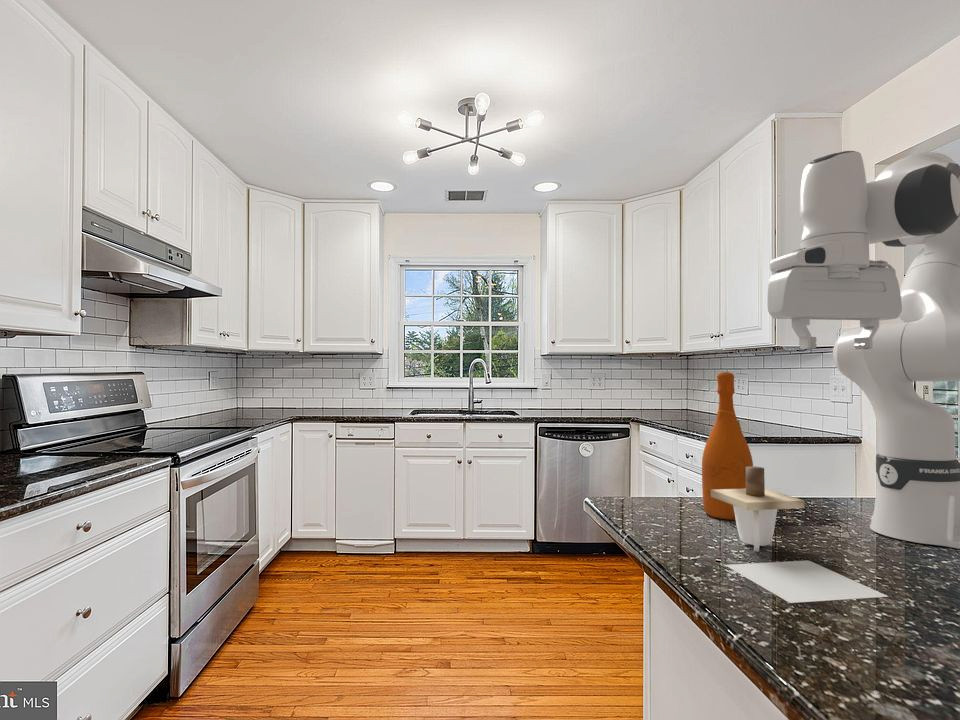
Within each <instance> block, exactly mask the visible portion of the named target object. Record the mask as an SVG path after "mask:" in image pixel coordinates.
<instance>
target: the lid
mask: <svg viewBox="0 0 960 720" xmlns="http://www.w3.org/2000/svg"><path fill="white" fill-rule="evenodd" d="M765 482H766V481H765V468H764V467H761V466H754V465H753V466H748V467H746V488H745V489H714V490H711V497H713V498H716V499H718V500H721V501H724V502H726V503H729V504H732V505H734V506H737V507H739V508H742V509H745V510H769V509H777V510H788V509H789V510H791V509H805V500H804V499H800V498H798V497H794V496H791V495H787V494H785V493H781V492H778V491H775V490H771V489H768V488H766V487H765V486H766V485H765V484H766V483H765Z"/></svg>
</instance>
